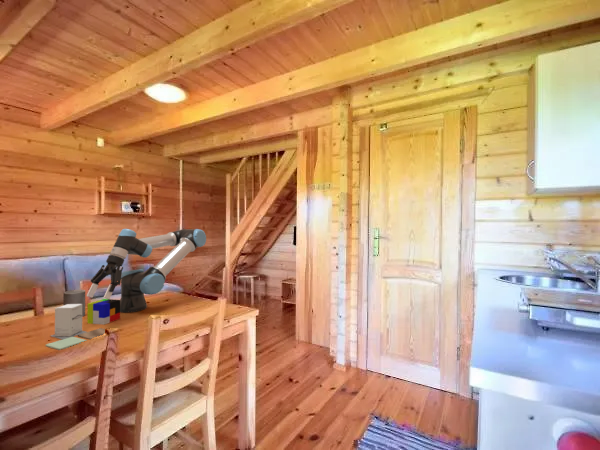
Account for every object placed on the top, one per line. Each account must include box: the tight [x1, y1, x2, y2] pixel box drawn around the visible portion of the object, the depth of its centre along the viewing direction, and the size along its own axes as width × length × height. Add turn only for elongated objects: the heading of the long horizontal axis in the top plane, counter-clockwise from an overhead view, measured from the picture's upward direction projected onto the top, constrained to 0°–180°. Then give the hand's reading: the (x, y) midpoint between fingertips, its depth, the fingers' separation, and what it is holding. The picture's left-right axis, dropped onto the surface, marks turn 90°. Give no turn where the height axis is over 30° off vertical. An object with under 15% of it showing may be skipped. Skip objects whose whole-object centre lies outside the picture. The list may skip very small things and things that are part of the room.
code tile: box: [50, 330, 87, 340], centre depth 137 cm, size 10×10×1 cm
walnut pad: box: [77, 327, 106, 340], centre depth 136 cm, size 10×10×1 cm
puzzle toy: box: [86, 298, 121, 325], centre depth 156 cm, size 10×10×10 cm
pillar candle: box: [62, 288, 86, 318], centre depth 163 cm, size 10×10×15 cm
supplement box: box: [54, 304, 83, 336], centre depth 137 cm, size 7×7×13 cm
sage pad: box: [45, 336, 88, 351], centre depth 125 cm, size 10×10×1 cm
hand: (97, 297), depth 147 cm, fingers open, 13 cm apart
